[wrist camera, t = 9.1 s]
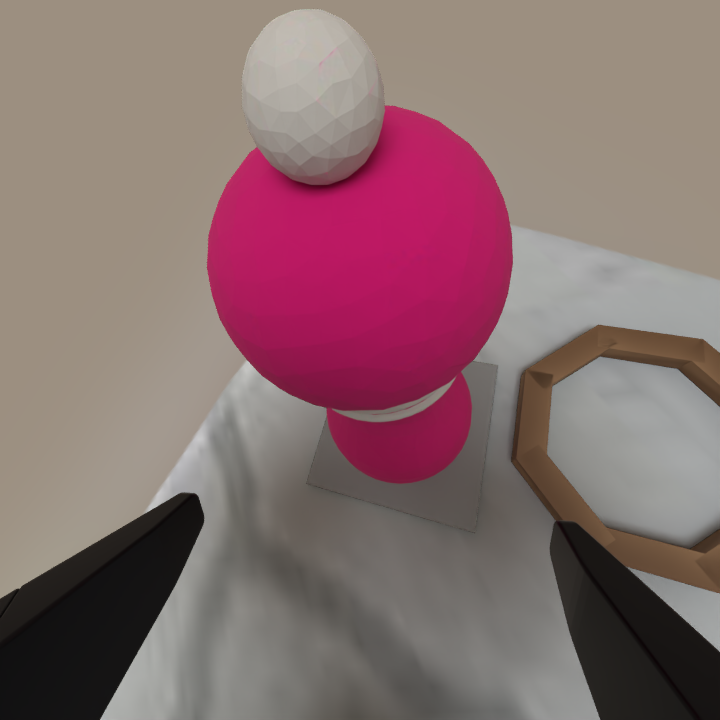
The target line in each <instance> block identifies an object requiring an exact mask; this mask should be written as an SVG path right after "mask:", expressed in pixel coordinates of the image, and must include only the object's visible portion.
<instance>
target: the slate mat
mask: <svg viewBox="0 0 720 720" xmlns="http://www.w3.org/2000/svg"><path fill="white" fill-rule="evenodd" d="M497 369H498V365H493V364H487V363H481V362H476V361H472V362H471V363H470V364H469V365H467V366H466V367H465V368H464V369H463V370H462V371H461V372H462V374H463V376H464V378H465V380H466V382H467V385H468V388H469V391H470V396H471V402H472V415H471V426H470V430H469V434H468V437H467V440H466V442H465V444H464V446H463V448H462V450H461V451H460V453H459V454H458V455H457V457H456V458H455V459H454V461H453V462H452V463H450V464H449V465H448V466H447V467H446V468H445V469H444V470H442V471H441V472H439V473H437V474H436V475H434V476H432V477H430V478H427V479H425V480H422V481H418V482H413V483H403V484H397V483H387V482H384V481H380V480H377V479H374V478H372V477H370V476H368V475H365V474H364V473H362V472H361V471H359V470H358V469H357V468H355V467H354V466H353V465H352V464H351V463H350V462H349V461H348V460H347V459H346V458H345V456H344V455H343V454H342V453H341V451H340V450H339V449H338V447H337V445H336V443H335V442H334V440H333V438H332V435H331V432H330V429H329V426H328V420H327V417H326V421H325V424H324V427H323V430H322V434H321V437H320V440H319V444H318V447H317V450H316V453H315V457H314V460H313V463H312V466H311V470H310V473H309V476H308V480H307V483H306V484H309V485H313V486H316V487H319V488H323V489H326V490H330V491H333V492H336V493H340V494H343V495H347V496H350V497H353V498H357V499H360V500H364V501H367V502H370V503H374V504H377V505H381V506H384V507H387V508H391V509H394V510H398V511H401V512H404V513H408V514H411V515H415V516H418V517H421V518H425V519H428V520H432V521H435V522H438V523H442V524H445V525H449V526H452V527H455V528H459V529H462V530H466V531H469V532H472V533H475V528H476V521H477V514H478V506H479V499H480V492H481V485H482V477H483V470H484V463H485V456H486V449H487V441H488V434H489V427H490V420H491V413H492V405H493V398H494V391H495V384H496V377H497Z"/></svg>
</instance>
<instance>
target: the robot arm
mask: <svg viewBox="0 0 720 720" xmlns="http://www.w3.org/2000/svg"><path fill="white" fill-rule="evenodd" d="M203 523H204V513H203V510H202V507H201V503H200V500H199V497H198V495H197V494H195V493H180V494H178V495H176V496H174V497H173V498H171V499H169V500H168V501H166V502H164V503H162V504H161V505H159V506H157V507H156V508H154V509H152V510H151V511H149V512H147V513H145V514H144V515H142V516H140V517H139V518H137V519H135V520H134V521H132V522H130V523H128V524H127V525H125V526H123V527H122V528H120V529H118V530H117V531H115V532H113V533H111V534H110V535H108V536H106V537H105V538H103V539H101V540H100V541H98V542H96V543H94V544H93V545H91V546H89V547H88V548H86V549H84V550H82V551H81V552H79V553H77V554H76V555H74V556H72V557H71V558H69V559H67V560H65V561H64V562H62V563H60V564H59V565H57V566H55V567H53V568H52V569H50V570H48V571H47V572H45V573H43V574H41V575H40V576H38V577H36V578H35V579H33V580H31V581H30V582H28V583H26V584H24V585H23V586H22V587H21V588H20V589H16V590H14V591H12V592H11V593H9V594H8V595H6V596H4V597H2V598H1V599H0V720H100V719H101V717H102V715H103V713H104V711H105V710H106V708H107V706H108V704H109V703H110V701H111V699H112V697H113V695H114V694H115V692H116V690H117V688H118V687H119V685H120V683H121V681H122V679H123V678H124V676H125V674H126V672H127V671H128V669H129V667H130V665H131V663H132V662H133V660H134V658H135V656H136V655H137V653H138V651H139V649H140V647H141V646H142V644H143V642H144V640H145V639H146V637H147V635H148V633H149V631H150V630H151V628H152V626H153V624H154V623H155V621H156V619H157V617H158V615H159V614H160V612H161V610H162V608H163V607H164V605H165V603H166V601H167V599H168V598H169V596H170V594H171V592H172V590H173V589H174V587H175V585H176V583H177V581H178V579H179V577H180V575H181V573H182V570H183V568H184V566H185V564H186V562H187V559H188V557H189V555H190V553H191V551H192V548H193V546H194V544H195V542H196V540H197V537H198V535H199V533H200V531H201V529H202V526H203ZM550 555H551V560H552V564H553V568H554V572H555V576H556V580H557V584H558V588H559V592H560V596H561V600H562V604H563V608H564V612H565V616H566V620H567V624H568V628H569V632H570V635H571V638H572V641H573V644H574V647H575V650H576V653H577V655H578V658H579V661H580V664H581V667H582V669H583V672H584V675H585V678H586V681H587V683H588V686H589V689H590V692H591V695H592V698H593V700H594V703H595V706H596V709H597V712H598V714H599V717H600V720H720V652H719V651H718V650H717V649H716V648H715V647H714V646H713V645H712V644H711V643H710V642H708V641H707V640H706V639H705V638H704V637H703V636H702V635H701V634H700V633H699V632H697V631H696V630H695V629H694V628H693V627H692V626H691V625H690V624H689V623H687V622H686V621H685V620H684V619H683V618H682V617H681V616H680V615H679V614H678V613H676V612H675V611H674V610H673V609H672V608H671V607H670V606H669V605H668V604H666V603H665V602H664V601H663V600H662V599H661V598H660V597H659V596H658V595H657V594H655V593H654V592H653V591H652V590H651V589H650V588H649V587H648V586H647V585H645V584H644V583H643V582H642V581H641V580H640V579H639V578H638V577H637V576H636V575H634V574H633V573H632V572H631V571H630V570H629V569H628V568H627V567H626V566H624V565H623V564H622V563H621V562H620V561H619V560H618V559H617V558H616V557H615V556H613V555H612V554H611V553H610V552H609V551H608V550H607V549H606V548H605V547H604V546H602V545H601V544H600V543H599V542H598V541H597V540H596V539H595V538H594V537H592V536H591V535H590V534H589V533H588V532H587V531H586V530H585V529H584V528H583V527H581V526H580V525H579V524H578V523H576V522H574V521H564V520H557V521H555V523H554V526H553V532H552V537H551V543H550Z"/></svg>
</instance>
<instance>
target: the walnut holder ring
mask: <svg viewBox="0 0 720 720" xmlns="http://www.w3.org/2000/svg"><path fill="white" fill-rule="evenodd" d="M600 356H601V357H608V358H614V359H620V360H627V361H633V362H639V363H645V364H652V365H658V366H664V367H671V368H677V369H679V370H680V371H681V372H682V373H683V374H684V375H686V376H687V377H688V378H689V379H690V380H691V381H692V382H693V383H694V384H696V385H697V386H698V387H699V388H700V389H701V390H702V391H703V392H705V393H706V394H707V395H708V396H709V397H710V398H711V399H712V400H713V401H715V402H716V403H717V404H718V405H719V406H720V353H719V352H718V351H717V350H715V349H714V348H713V347H712V346H711V345H709V344H708V343H707V342H706V341H705V340H703V339H697V338H690V337H683V336H676V335H668V334H661V333H654V332H647V331H640V330H632V329H625V328H618V327H611V326H604V325H597V326H596V327H594V328H592V329H591V330H589V331H588V332H586V333H584V334H583V335H581V336H580V337H578V338H576V339H575V340H573V341H571V342H570V343H568V344H567V345H565V346H563V347H562V348H560V349H559V350H557V351H555V352H554V353H552V354H551V355H549V356H547V357H546V358H544V359H542V360H541V361H539V362H538V363H536V364H534V365H533V366H531V367H530V368H528V369H526V370H525V372H524V373H523V374H522V376H521V381H520V390H519V398H518V407H517V416H516V425H515V434H514V443H513V452H512V460H511V462H512V463H513V464H514V466H515V467H516V468H517V470H518V471H519V472H520V474H521V475H522V476H523V478H524V479H525V480H526V482H527V483H528V484H529V485H530V487H531V488H532V489H533V491H534V492H535V493H536V495H537V496H538V497H539V499H540V500H541V501H542V503H543V504H544V505H545V507H546V508H547V509H548V511H549V512H550V513H551V515H552V516H553V517H554V519H555V520H556V521H557V520H564V521H574V522H576V523H578V524H579V525H580V526H581V527H583V528H584V529H585V530H586V531H587V532H588V533H589V534H590V535H591V536H592V537H594V538H595V539H596V540H597V541H598V542H599V543H600V544H601V545H602V546H604V547H605V548H606V549H607V550H608V551H609V552H610V553H611V554H612V555H613V556H615V557H616V558H617V559H618V560H619V561H620V562H621V563H622V564H623V565H624V566H626V567H630V568H633V569H637V570H640V571H644V572H647V573H651V574H654V575H658V576H661V577H665V578H668V579H671V580H675V581H678V582H682V583H685V584H689V585H692V586H696V587H699V588H703V589H706V590H709V591H713V592H716V593H720V529H719V530H718V531H716V532H715V533H713V534H712V535H710V536H709V537H707V538H706V539H704V540H703V541H701V542H700V543H699V544H697V545H696V546H694V547H693V548H691V549H690V550H689V549H685V548H682V547H678V546H674V545H670V544H667V543H663V542H659V541H655V540H652V539H648V538H644V537H640V536H636V535H633V534H629V533H625V532H621V531H618V530H614V529H610V528H606V527H605V526H604V525H603V523H602V522H601V521H600V520H599V518H598V517H597V516H596V515H595V513H594V512H593V511H592V510H591V508H590V507H589V506H588V505H587V504H586V502H585V501H584V500H583V499H582V497H581V496H580V495H579V494H578V492H577V491H576V490H575V489H574V487H573V486H572V485H571V484H570V482H569V481H568V480H567V479H566V478H565V476H564V475H563V474H562V473H561V471H560V470H559V469H558V468H557V466H556V465H555V464H554V463H553V461H552V460H551V459H550V458H549V457H548V455H547V444H548V432H549V419H550V406H551V394H552V386H554V385H555V384H557V383H558V382H560V381H562V380H563V379H565V378H566V377H568V376H570V375H571V374H573V373H574V372H576V371H578V370H579V369H581V368H582V367H584V366H585V365H587V364H589V363H590V362H592V361H593V360H595V359H597V358H598V357H600Z"/></svg>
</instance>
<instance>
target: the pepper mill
mask: <svg viewBox="0 0 720 720" xmlns="http://www.w3.org/2000/svg"><path fill="white" fill-rule="evenodd" d="M384 104H385V103H384V86H383V82H382V79H381V75H380V72H379V69H378V65H377V62H376V59H375V57H374V56H373V54H372V52H371V51H370V49H369V47H368V46H367V44H366V42H365V41H364V39H363V37H362V36H361V35H360V34H359V33H358V32H356V31H355V30H354V29H353V28H352V27H351V26H350V25H349V24H348V23H347V22H346V21H345V20H343V19H341V18H339V17H337V16H334V15H332V14H330V13H328V12H326V11H323V10H312V9H302V10H295V11H291V12H289V13H286V14H284V15H282V16H280V17H277V18H275V19H274V20H273V21H271V22H270V23H269V24H268V25H267V26H265V27H264V29H263V30H262V32H261V33H260V34H259V36H258V37H257V39H256V40H255V42H254V43H253V44H252V46H251V48H250V49H249V52H248V55H247V58H246V62H245V66H244V71H243V75H242V108H243V112H244V115H245V119H246V122H247V126H248V130H249V132H250V134H251V136H252V138H253V140H254V142H255V143H256V145H257V148H255V149H254V150H253V151H251V152H250V153H249V154H248V156H247V157H246V159H245V160H244V161H243V163H242V164H241V165H240V167H239V168H238V169H237V171H236V172H235V174H234V175H233V176H232V177H231V179H230V180H229V182H228V183H227V184H226V187H225V189H224V191H223V193H222V195H221V198H220V200H219V202H218V205H217V208H216V211H215V214H214V217H213V220H212V224H211V228H210V232H209V238H208V259H207V270H208V275H209V282H210V287H211V292H212V296H213V299H214V302H215V305H216V309H217V312H218V315H219V318H220V320H221V322H222V324H223V326H224V327H225V329H226V331H227V333H228V334H229V336H230V338H231V339H232V341H233V342H234V344H235V345H236V347H237V348H238V349H239V350H240V352H241V353H242V354H243V355H244V357H245V358H246V359H247V360H248V361H249V362H250V364H251V365H252V366H253V367H254V368H255V369H256V370H257V371H258V372H259V373H260V374H261V375H262V376H263V377H265V378H266V379H267V380H269V381H270V382H272V383H273V384H274V385H276V386H277V387H279V388H280V389H282V390H283V391H285V392H287V393H288V394H290V395H292V396H295V397H297V398H299V399H302V400H304V401H307V402H309V403H311V404H314V405H317V406H322V407H326V408H327V420H328V426H329V429H330V432H331V435H332V438H333V440H334V442H335V443H336V445H337V447H338V449H339V450H340V451H341V453H342V454H343V455H344V456H345V458H346V459H347V460H348V461H349V462H350V463H351V464H352V465H353V466H354V467H355V468H357V469H358V470H359V471H361V472H362V473H364V474H365V475H368V476H370V477H372V478H374V479H377V480H380V481H384V482H387V483H397V484H403V483H413V482H418V481H422V480H425V479H427V478H430V477H432V476H434V475H436V474H437V473H439V472H441V471H442V470H444V469H445V468H446V467H447V466H448V465H449V464H450V463H452V462H453V461H454V459H455V458H456V457H457V455H458V454H459V453H460V451H461V450H462V448H463V446H464V444H465V442H466V440H467V437H468V434H469V430H470V426H471V415H472V402H471V396H470V391H469V388H468V385H467V382H466V380H465V378H464V376H463V374H462V372H461V371H462V370H463V369H464V368H465V367H466V366H467V365H469V364H470V363H471V362H472V361H473V360H474V359H475V357H476V356H477V355H478V353H479V352H480V350H481V349H482V347H483V346H484V345H485V343H486V342H487V340H488V339H489V337H490V335H491V333H492V332H493V330H494V328H495V326H496V324H497V323H498V320H499V318H500V315H501V313H502V311H503V308H504V304H505V301H506V298H507V295H508V290H509V284H510V278H511V272H512V265H513V255H512V233H511V227H510V222H509V217H508V212H507V208H506V205H505V202H504V198H503V196H502V194H501V192H500V189H499V187H498V185H497V183H496V180H495V178H494V176H493V175H492V173H491V172H490V170H489V168H488V167H487V165H486V164H485V162H484V161H483V159H482V158H481V157H480V156H479V155H478V153H477V152H476V151H475V150H474V149H473V148H472V146H471V145H470V144H469V143H468V142H466V141H465V140H464V139H462V138H461V137H460V136H458V135H456V134H455V133H454V132H453V131H451V130H450V129H449V128H447V127H446V126H445V125H443V124H442V123H441V122H439V121H437V120H435V119H432V118H430V117H427V116H425V115H422V114H420V113H417V112H414V111H411V110H407V109H403V108H399V107H396V106H385V105H384Z"/></svg>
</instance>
